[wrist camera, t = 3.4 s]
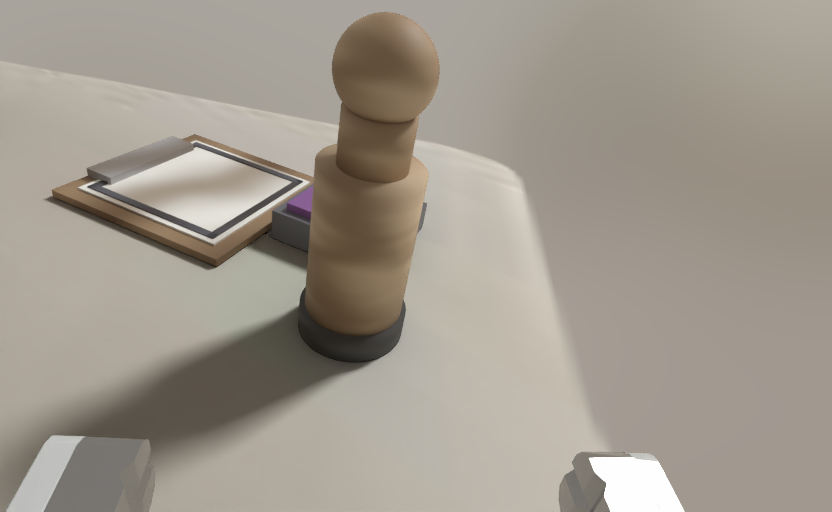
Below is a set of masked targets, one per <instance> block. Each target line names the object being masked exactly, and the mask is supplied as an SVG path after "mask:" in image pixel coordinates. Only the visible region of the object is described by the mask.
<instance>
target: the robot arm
mask: <svg viewBox="0 0 832 512" xmlns="http://www.w3.org/2000/svg"><path fill="white" fill-rule="evenodd" d="M150 453H151V447H150V443H149V439H129V438H105V437H86V436H59V435H52V436H51V437H50V438H49V439H48V440H47V441H46V442H45V443H44V444H43V445H42V447H41V449H40V451H39V452H38V454H37V456H36V458H35V459H34V461H33V463H32V465H31V466H30V468H29V470H28V472H27V474H26V475H25V477H24V479H23V481H22V482H21V484H20V486H19V488H18V489H17V491H16V493H15V495H14V497H13V498H12V500H11V502H10V504H9V505H8V507H7V509H6V511H5V512H149V509H150V506H151V502H152V497H153V492H154V487H155V471H154V466H153V465H152V464H150V463H149V462H148V459H149V456H150ZM572 464H573V467H574V470H573V471H571V472H569V473H568V474H566V475H564V478H563V480H562V482H561V484H560V487H559V505H560V511H561V512H684V510H683V508H682V506H681V504H680V502H679V500H678V498H677V497H676V495H675V493H674V491H673V489H672V487H671V485H670V483H669V481H668V480H667V478H666V476H665V474H664V472H663V470H662V468H661V466H660V464H659V462H658V461H657V460H656V458H655V457H654V456H652V455H651V454H644V453H624V452H581V453H579V454H577V455H576V456H575V458H574V460H573V461H572Z"/></svg>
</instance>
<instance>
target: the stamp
mask: <svg viewBox="0 0 832 512" xmlns="http://www.w3.org/2000/svg"><path fill="white" fill-rule="evenodd" d="M439 70H440V69H439V59H438V55H437V51H436V49H435V46H434V44H433V42H432V40H431V38H430V37H429V36H428V34H427V33H426V32H425V30H424V29H423V28H422V27H421V26H419V25H418V24H417V23H416V22H414V21H413V20H411V19H409V18H407V17H405V16H402V15H400V14H396V13H389V12H380V13H374V14H370V15H367V16H365V17H363V18H361V19H359V20H357V21H356V22H355V23H353V24H352V25H351V26H350V27H348V29H347V30H346V31H345V32H344V33H343V35H342V36H341V38H340V40H339V41H338V43H337V46H336V49H335V52H334V55H333V61H332V75H333V81H334V85H335V88H336V91H337V93H338V95H339V97H340V99H341V100H342V104H341V112H340V122H339V133H338V143H337V144H334V145H331V146H328V147H326V148H324V149H322V150H321V151H320V152H319V153H318V154H317V155H316V158H315V169H314V183H313V196H312V210H311V223H310V237H309V250H308V264H307V278H306V287H305V288H304V290H303V291H302V294H301V297H300V305H299V320H298V327H299V332H300V334H301V336H302V338H303V340H304V341H305V342H306V343H307V344H308V345H309V346H310V347H311V348H312V349H313V350H315V351H316V352H318V353H320V354H322V355H323V356H326V357H328V358H331V359H335V360H339V361H344V362H364V361H369V360H374V359H376V358H379V357H381V356H383V355H385V354H387V353H388V352H390V351H391V350H392V349H393V348H394V347H395V346H396V345H397V343H398V341H399V339H400V336H401V331H402V327H403V322H404V317H405V311H406V308H405V303H404V300H403V299H404V294H405V289H406V284H407V279H408V274H409V269H410V265H411V260H412V255H413V250H414V245H415V240H416V235H417V231H418V226H419V221H420V216H421V211H422V206H423V201H424V197H425V192H426V187H427V182H428V177H429V173H428V170H427V168H426V167H425V165H424V164H423V163H422V162H421V161H419V160H418V159H417V158H415V157H414V156H412V154H413V149H414V143H415V138H416V132H417V126H418V121H419V114H420V113H421V112H422V111H423V110H424V109H425V108H426V107H427V106H428V105H429V103H430V102H431V100H432V98H433V96H434V94H435V92H436V89H437V86H438V81H439V74H440V72H439Z"/></svg>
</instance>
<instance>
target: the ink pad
mask: <svg viewBox="0 0 832 512" xmlns="http://www.w3.org/2000/svg"><path fill="white" fill-rule="evenodd" d="M312 196H313V184H312V185H310V186H309V187H307V188H306V189H304V190H303V191H301V192H299V193H298V194H296V195H295V196H293V197H292V198H290V199H289V200H287V201H286V202H284V203H283V204H281V205H280V206H278V207H277V208H275V209H274V210H272V234H271V238H274V239H276V240H279V241H281V242H284V243H286V244H289V245H291V246H294V247H296V248H299V249H301V250H304V251H306V252H308V250H309V237H310V223H311V210H312ZM426 207H427V203H424V202H423V206H422V211H421V216H420V221H419V226H418V231H417V233H418V232H419V231H420V229H421V228H422V226H423V221H424V216H425V211H426Z"/></svg>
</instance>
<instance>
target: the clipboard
mask: <svg viewBox="0 0 832 512" xmlns="http://www.w3.org/2000/svg"><path fill="white" fill-rule="evenodd" d="M87 172H88V176H86V177H84V178H81V179H79V180H76V181H73V182H71V183H68V184H66V185H63V186H61V187H58V188H55V189H53V190H52V193H53V197H55V198H57V199H59V200H62V201H64V202H66V203H69V204H71V205H73V206H76V207H78V208H80V209H83V210H85V211H87V212H90V213H92V214H94V215H97V216H99V217H101V218H104V219H106V220H108V221H111V222H113V223H115V224H118V225H120V226H122V227H125V228H127V229H130V230H132V231H134V232H137V233H139V234H141V235H144V236H146V237H148V238H151V239H153V240H155V241H158V242H160V243H162V244H165V245H167V246H169V247H172V248H174V249H176V250H179V251H181V252H183V253H186V254H188V255H190V256H193V257H195V258H197V259H200V260H202V261H204V262H207V263H209V264H211V265H214V266H216V267H217V266H219V265H220V264H221V263H223V262H224V261H226V260H227V259H229V258H230V257H231V256H233V255H234V254H236V253H237V252H239V251H240V250H241V249H243V248H244V247H246V246H247V245H249V244H250V243H251V242H253V241H254V240H256V239H257V238H259V237H260V236H261V235H263V234H264V233H266V232H267V231H268V230H270V229H271V228H272V210H274V209H275V208H277V207H278V206H280V205H281V204H283V203H284V202H286V201H287V200H289V199H290V198H292V197H293V196H295V195H296V194H298V193H299V192H301V191H303V190H304V189H306V188H307V187H309V186H310V185H312V184H313V183H314V177H311V176H308V175H306V174H303V173H300V172H297V171H295V170H292V169H289V168H286V167H283V166H281V165H278V164H275V163H272V162H270V161H267V160H264V159H261V158H259V157H256V156H253V155H250V154H248V153H245V152H242V151H239V150H237V149H234V148H231V147H228V146H225V145H223V144H220V143H217V142H214V141H212V140H209V139H206V138H203V137H201V136H198V135H195V134H194V135H192V136H189V137H187V138H184V139H182V140H181V139H179V138H176V137H173V136H172V137H169V138H166V139H164V140H161V141H158V142H156V143H153V144H150V145H148V146H145V147H142V148H140V149H137V150H134V151H132V152H129V153H126V154H124V155H121V156H118V157H116V158H113V159H110V160H107V161H105V162H102V163H99V164H97V165H94V166H91V167H89V168H87Z"/></svg>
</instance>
